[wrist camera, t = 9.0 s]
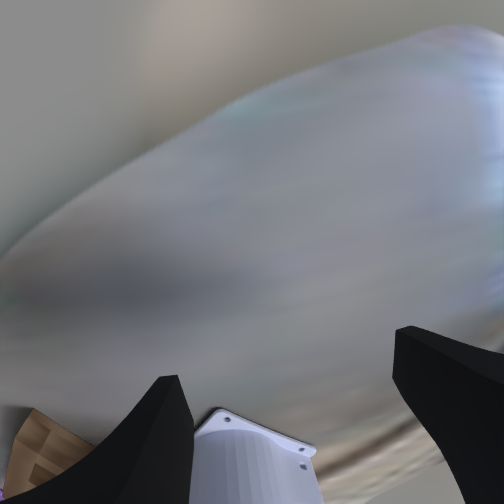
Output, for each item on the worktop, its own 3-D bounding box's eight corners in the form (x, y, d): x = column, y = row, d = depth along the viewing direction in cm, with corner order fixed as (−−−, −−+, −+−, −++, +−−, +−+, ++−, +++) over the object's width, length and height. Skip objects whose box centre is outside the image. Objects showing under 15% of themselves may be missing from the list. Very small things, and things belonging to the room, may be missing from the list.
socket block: (125, 462, 22) (116, 496, 18) (79, 512, 24) (72, 537, 20) (33, 408, 20) (14, 437, 16) (13, 474, 22) (1, 497, 18)
